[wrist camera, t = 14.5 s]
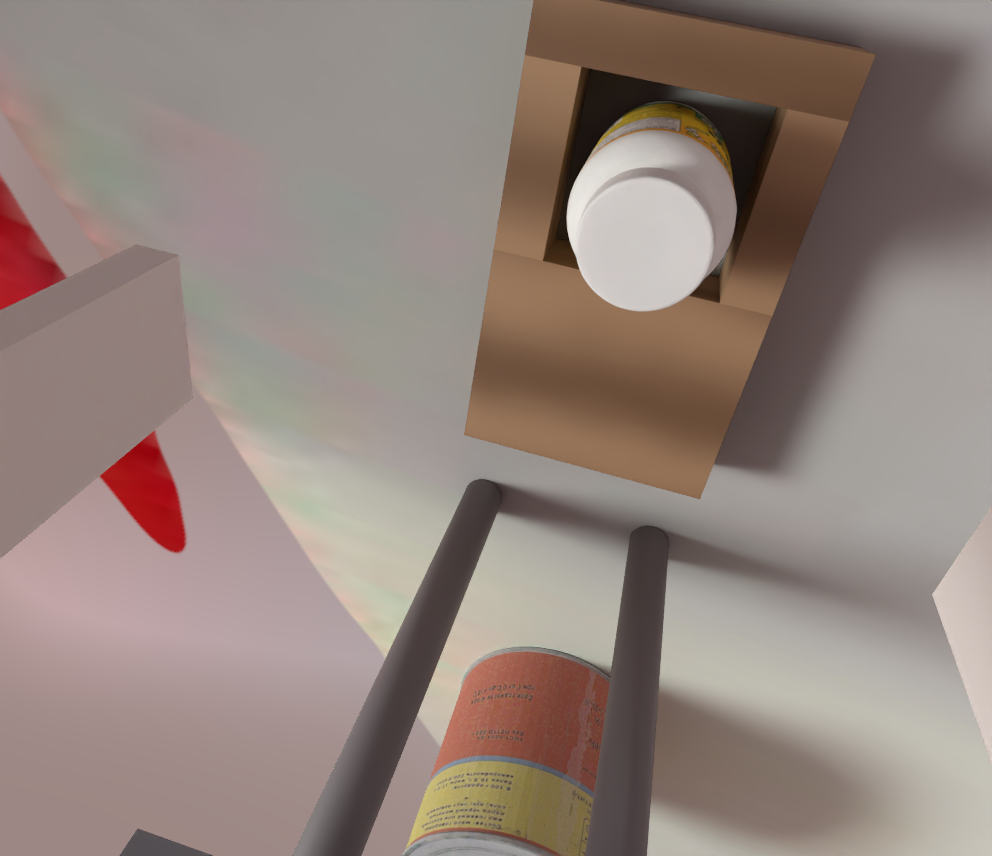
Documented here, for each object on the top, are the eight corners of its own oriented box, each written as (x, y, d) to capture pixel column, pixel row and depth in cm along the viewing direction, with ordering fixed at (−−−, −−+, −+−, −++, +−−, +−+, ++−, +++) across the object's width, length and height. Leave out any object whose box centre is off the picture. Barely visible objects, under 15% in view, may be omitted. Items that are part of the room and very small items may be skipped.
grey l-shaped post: (486, 309, 34) (79, 916, 12) (746, 374, 33) (824, 1198, 11) (454, 501, 40) (150, 1130, 18) (672, 563, 39) (624, 1325, 17)
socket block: (551, -13, 27) (535, -12, 24) (859, 47, 26) (875, 54, 23) (480, 404, 37) (464, 434, 34) (700, 462, 35) (699, 498, 33)
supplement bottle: (583, 114, 29) (535, 165, 21) (726, 86, 27) (735, 130, 19) (602, 248, 31) (566, 340, 23) (735, 230, 30) (745, 323, 22)
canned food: (466, 749, 52) (408, 933, 42) (455, 633, 46) (385, 815, 36) (629, 781, 49) (609, 986, 39) (640, 663, 43) (620, 868, 33)
